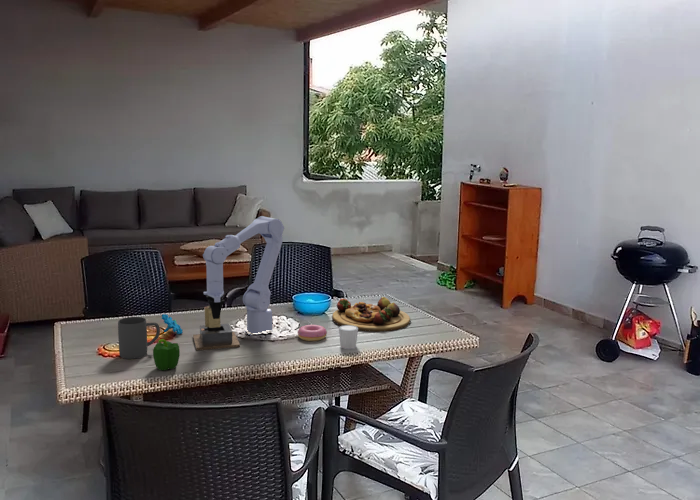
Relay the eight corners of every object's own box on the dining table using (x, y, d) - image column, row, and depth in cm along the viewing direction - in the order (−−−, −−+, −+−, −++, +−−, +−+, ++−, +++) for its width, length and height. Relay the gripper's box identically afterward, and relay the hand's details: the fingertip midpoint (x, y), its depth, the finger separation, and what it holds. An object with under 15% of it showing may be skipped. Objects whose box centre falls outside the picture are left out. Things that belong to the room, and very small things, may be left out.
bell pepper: (175, 361, 214) (174, 332, 212) (183, 369, 207) (182, 339, 205) (149, 366, 209) (148, 336, 207) (157, 374, 202) (156, 343, 200)
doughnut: (307, 331, 249) (307, 321, 248) (332, 336, 244) (332, 325, 243) (291, 339, 239) (291, 328, 239) (317, 344, 234) (317, 333, 234)
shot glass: (344, 350, 228) (344, 331, 227) (335, 344, 234) (335, 326, 233) (361, 347, 231) (361, 329, 230) (352, 342, 237) (352, 323, 236)
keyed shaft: (219, 323, 235) (218, 304, 234) (220, 327, 231) (219, 307, 230) (204, 325, 234) (203, 306, 232) (205, 328, 230) (204, 308, 229)
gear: (180, 334, 237) (161, 314, 236) (169, 345, 237) (149, 326, 236) (187, 329, 248) (168, 310, 247) (176, 339, 248) (157, 321, 247)
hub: (234, 334, 243) (234, 321, 242) (239, 347, 229) (239, 333, 228) (193, 337, 239) (192, 324, 238) (196, 350, 225) (196, 336, 224)
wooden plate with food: (315, 320, 264) (316, 301, 262) (365, 305, 288) (366, 287, 286) (377, 339, 243) (377, 318, 242) (425, 321, 267) (426, 302, 266)
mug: (122, 361, 213) (120, 325, 211) (116, 352, 221) (115, 318, 219) (164, 354, 220) (163, 320, 218) (157, 346, 228) (155, 313, 226)
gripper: (201, 275, 235) (202, 312, 238) (205, 285, 222) (206, 323, 224) (221, 275, 237) (221, 310, 240) (226, 284, 224) (226, 321, 226)
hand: (215, 316), depth 232 cm, fingers closed on keyed shaft, 4 cm apart
